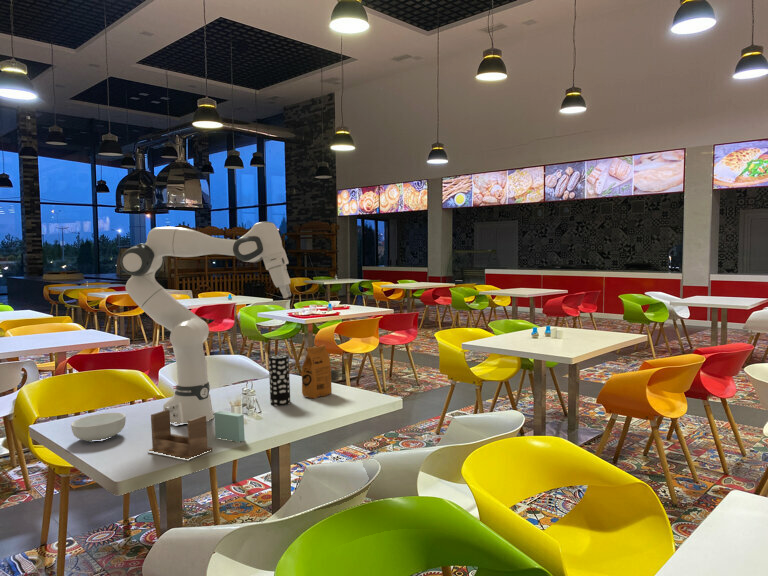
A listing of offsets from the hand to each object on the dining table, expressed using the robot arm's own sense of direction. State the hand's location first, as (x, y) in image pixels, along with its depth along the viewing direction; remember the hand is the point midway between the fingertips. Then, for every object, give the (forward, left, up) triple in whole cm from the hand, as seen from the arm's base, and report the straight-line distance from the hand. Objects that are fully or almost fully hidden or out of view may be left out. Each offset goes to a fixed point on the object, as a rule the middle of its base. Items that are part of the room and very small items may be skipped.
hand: (287, 297), depth 209 cm
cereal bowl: (-48, -48, -47) cm, 82 cm away
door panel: (-4, -30, -47) cm, 55 cm away
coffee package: (-12, +32, -47) cm, 58 cm away
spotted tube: (-18, +14, -47) cm, 52 cm away
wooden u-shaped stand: (-10, -46, -47) cm, 66 cm away
